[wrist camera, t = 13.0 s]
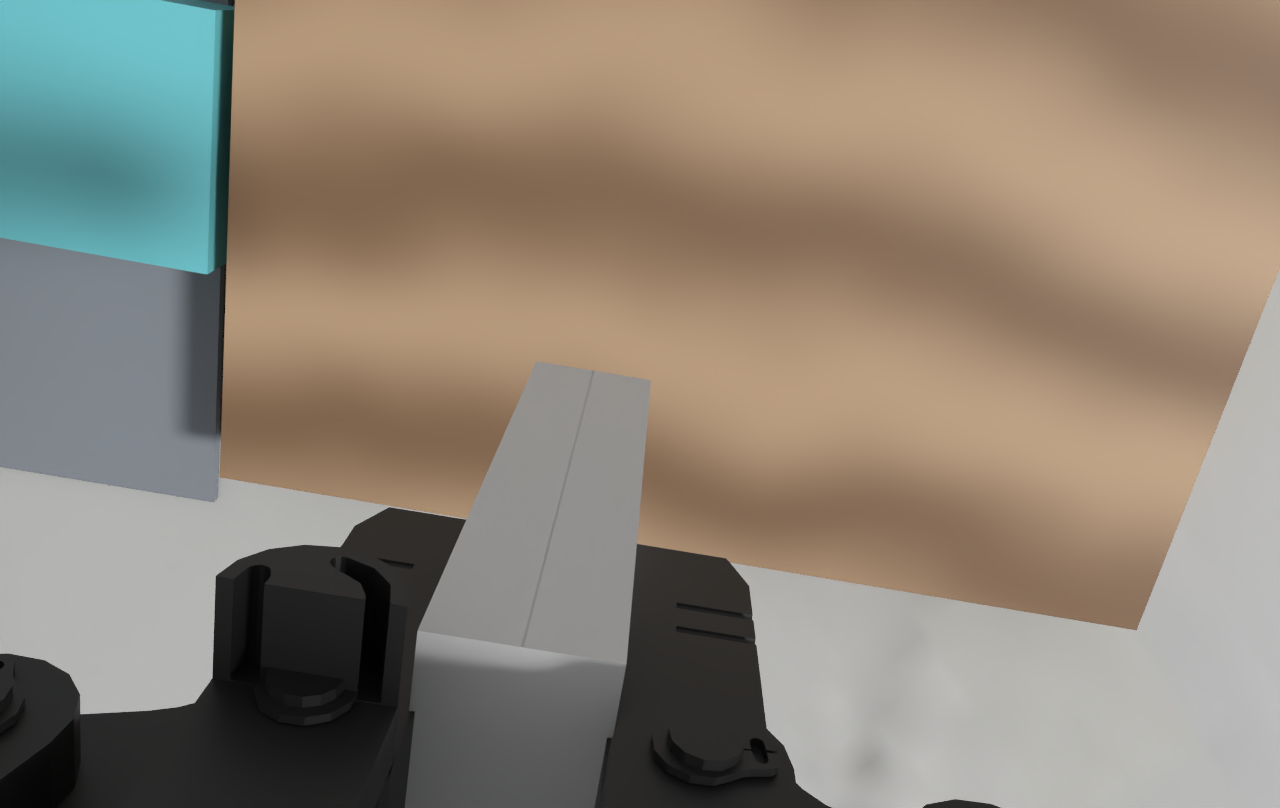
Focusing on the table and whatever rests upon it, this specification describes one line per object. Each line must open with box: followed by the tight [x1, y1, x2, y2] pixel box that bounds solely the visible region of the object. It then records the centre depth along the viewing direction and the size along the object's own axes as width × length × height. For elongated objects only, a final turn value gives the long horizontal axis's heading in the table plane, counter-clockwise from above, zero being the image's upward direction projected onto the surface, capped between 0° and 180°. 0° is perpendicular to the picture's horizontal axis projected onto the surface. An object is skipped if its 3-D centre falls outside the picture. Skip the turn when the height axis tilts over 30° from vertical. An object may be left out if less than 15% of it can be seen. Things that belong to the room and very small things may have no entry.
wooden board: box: [220, 0, 1280, 630], centre depth 26 cm, size 16×24×2 cm, turn 80°
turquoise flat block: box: [0, 0, 235, 274], centre depth 25 cm, size 6×9×2 cm, turn 80°
